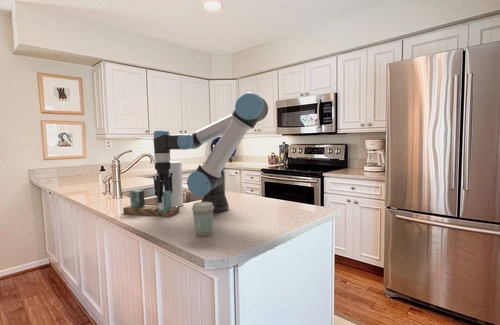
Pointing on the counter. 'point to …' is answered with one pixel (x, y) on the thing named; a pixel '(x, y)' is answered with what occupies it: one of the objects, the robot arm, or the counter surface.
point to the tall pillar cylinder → (176, 184)
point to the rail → (142, 209)
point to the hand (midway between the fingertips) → (164, 207)
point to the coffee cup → (203, 218)
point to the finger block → (166, 201)
